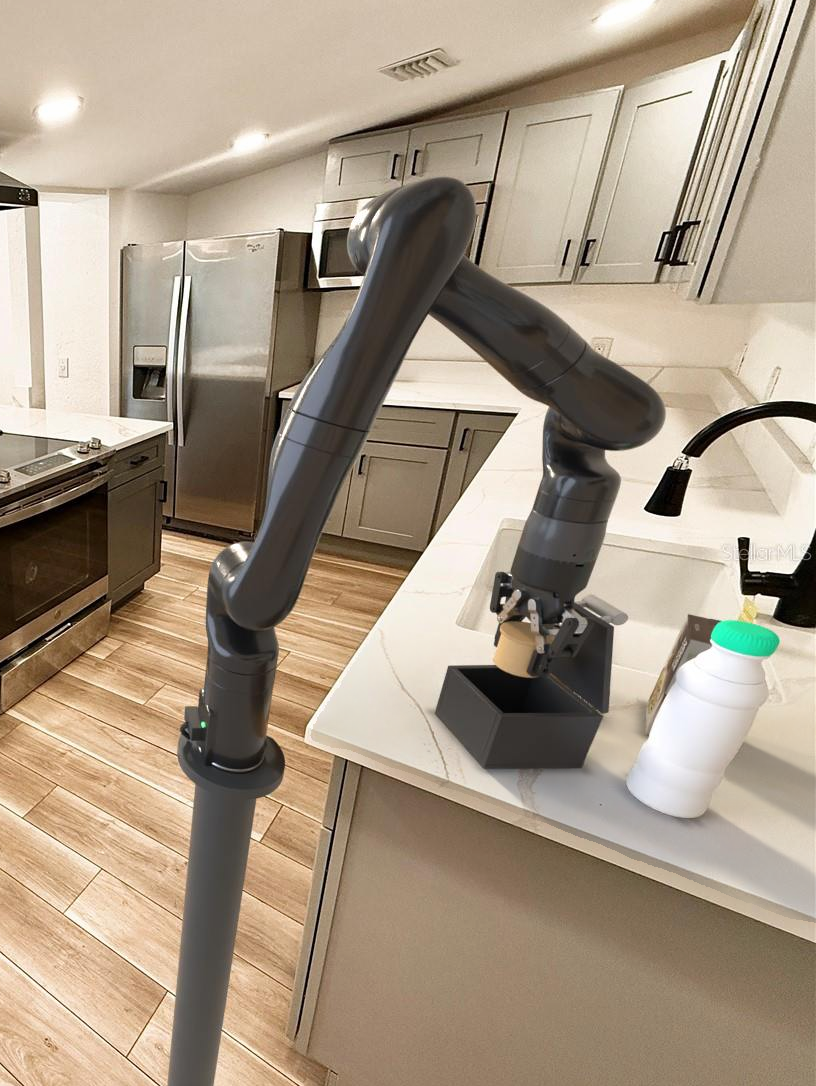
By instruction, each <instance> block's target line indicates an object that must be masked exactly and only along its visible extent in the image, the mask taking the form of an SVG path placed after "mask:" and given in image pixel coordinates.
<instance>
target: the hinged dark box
mask: <svg viewBox="0 0 816 1086" xmlns="http://www.w3.org/2000/svg"><path fill="white" fill-rule="evenodd" d="M434 715H435V716H436V717H437V718H438V719H439V720H440V721H441V722H442V723H443V725H445V727H446V728H447V729H448V731H450V733H451V734H452V735H453V736H454V737H455V738H456V740H458V741H459V743H460V744H461V745H462V746H463V747H464V748H465V749H466V750H467V752H468V753H469V754H470V755H471V756H472V757H473V759H475V761H476V762H477V763H478V764H479V766H480V767H482V769H484V770H487V769H490V770H491V769H495V770H497V769H498V770H499V769H502V770H504V769H506V770H507V769H508V770H509V769H514V770H515V769H516V770H517V769H519V770H521V769H582V768H583V765H584V763H585V760H586V758H587V756H588V754H589V751H590V749H591V747H592V745H593V742H594V740H595V737H596V735H597V733H598V730H599V728H600V726H601V723H602V721H603V719H604V715H603V714H601V713H600V712H599V711H598V710H596V709H595V708H594V707H592V706H591V705H590V704H589V703H587V702H586V701H585V700H584V699H582V698H581V697H580V696H579V695H577V694H576V693H575V692H572V691H571V690H570V689H568V688H567V687H566V686H565V685H563V684H562V683H561V682H560V681H558V680H557V679H556V678H555V677H553V676H552V675H551V674H549V675H547V676H544V677H535V678H527V677H521V676H516V675H513V674H510V673H508V672H505V671H503V670H502V669H500V668H499V667H497V666H496V665H495V664H468V665H467V664H465V665H464V664H463V665H462V664H461V665H460V664H459V665H458V664H457V665H455V664H453V665H447V668H446V671H445V675H444V678H443V682H442V685H441V689H440V693H439V695H438V700H437V703H436V707H435V710H434Z"/></svg>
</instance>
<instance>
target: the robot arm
mask: <svg viewBox="0 0 816 1086" xmlns="http://www.w3.org/2000/svg"><path fill="white" fill-rule="evenodd" d="M476 223H477V204H476V200H475V196H474V193H473V192H472V191H471V188H470V187H469V186H468V185H467V184H466V183H465V182H463V181H462V180H461V179H458V178H455V177H452V176H435V177H428V178H424V179H419V180H417V181H413V182H410V183H407V184H404V185H401V186H398V187H395V188H392V189H389V190H387V191H385V192H383V193H381V194H378V195H377V196H375V197H374V198H372V199H370V200H369V201H368V202H367V203H366V204H365V205H363V206H362V207H361V209H359V210H358V211H357V213H356V214H355V216H354V218H353V220H352V221H351V223H350V226H349V228H348V229H349V230H348V233H347V236H346V237H347V239H346V249H347V255H348V258H349V260H350V262H351V264H352V266H353V267H354V269H355V270H356V271H357V272H358V273H360V274H361V275H362V276H363V278H362V281H361V284H360V286H359V289H358V291H357V294H356V296H355V299H354V302H353V304H352V307H351V309H350V311H349V313H348V315H347V317H346V319H345V321H344V323H343V325H342V326H341V327H340V329H339V331H338V332H337V334H336V336H335V337H334V338H333V339H332V341H331V343H330V344H329V345H328V346H327V347H326V349H325V350H324V352H323V353H322V354H321V355H320V356H319V358H318V359H317V361H316V362H314V364H313V366H312V367H311V368H310V370H309V371H308V373H307V374H306V375H305V376H304V377H303V379H302V381H301V382H300V384H299V385H298V387H297V389H296V391H295V392H294V394H293V396H292V397H291V400H290V402H289V404H288V408H287V409H286V412H285V414H284V417H283V419H282V422H281V423H280V426H279V428H278V431H277V432H276V433H277V434H276V435H275V439H274V441H273V445H272V448H271V452H270V458H269V464H268V472H267V473H268V475H267V485H266V498H265V504H264V505H265V506H264V513H263V516H262V521H261V523H260V527H259V530H258V532H257V535H256V537H255V539H254V541H239V542H234V543H232V544H230V545H228V546H226V547H224V549H222V550H221V551H219V553H218V554H217V555H216V557H215V558H214V560H213V561H212V563H211V566H210V568H209V573H208V577H207V585H206V586H207V588H206V603H205V605H206V606H205V631H206V632H205V633H206V637H207V651H206V652H207V653H206V662H205V663H206V665H205V674H204V685H203V688H200V689H199V692H198V705H190V706H189V705H187V706H185V707H184V715H183V716H184V717H183V719H184V723H182V724H181V725H180V727H179V731H180V734H182V735H183V736H184V737H186V738H187V739H188V740H190V739H191V741H196V742H197V745H198V750H199V753H200V755H201V758H202V761H203V764H204V765H205V766H213V767H215V768H217V769H219V770H221V771H224V772H228V773H235V774H243V773H249V772H252V771H254V770H256V769H258V768H259V767H260V766H261V764H262V763H263V759H264V750H265V747H266V749H267V742H266V735H267V734H268V726H269V720H270V714H271V706H272V700H273V693H274V686H275V680H276V674H277V673H276V672H277V666H278V660H279V653H280V644H279V639H278V635H277V633H276V628H275V627H277V626H278V625H280V624H281V623H282V622H283V621H284V620H286V619H287V618H288V617H289V615H291V613H292V611H293V610H294V609H295V607H296V604H297V603H298V601H299V598H300V596H301V593H302V590H303V587H304V584H305V581H306V578H307V575H308V573H309V570H310V567H311V564H312V561H313V558H314V555H315V552H316V549H317V547H318V544H319V541H320V539H321V537H322V534H323V532H324V530H325V527H326V525H327V523H328V521H329V520H330V517H331V515H332V514H333V511H334V509H335V507H336V504H337V502H338V500H339V498H340V495H341V493H342V491H343V489H344V486H345V484H346V482H347V481H348V479H349V476H350V474H351V473H352V470H353V469H354V467H355V465H356V463H357V461H358V460H359V457H360V455H361V453H362V451H363V449H364V447H365V445H366V442H367V441H368V438H369V436H370V434H371V432H372V430H373V427H374V426H375V423H376V421H377V418H378V417H379V416H378V415H379V413H380V411H381V410H382V407H383V405H384V404H385V400H386V399H387V397H388V394H389V392H390V391H391V388H392V386H393V385H394V382H395V381H396V378H397V376H398V374H399V372H400V370H401V367H402V365H403V363H404V361H405V359H406V356H407V354H408V352H409V350H410V348H411V346H412V344H413V342H414V340H415V338H416V337H417V335H418V333H419V331H420V329H421V327H422V326H423V324H424V322H425V320H426V319H427V317H428V315H429V316H430V317H431V318H433V319H434V320H435V321H436V322H438V323H440V324H441V325H442V326H443V327H444V328H445V329H447V330H448V331H450V332H451V333H452V334H453V335H454V336H456V337H457V338H458V339H460V341H462V342H463V343H464V344H465V345H466V346H468V347H469V348H470V349H471V350H472V351H474V353H476V354H477V355H478V356H479V357H480V358H481V359H482V360H483V361H485V362H486V363H487V364H488V365H489V366H491V367H492V368H493V369H494V370H495V371H496V372H497V374H499V375H500V376H501V377H502V378H504V379H505V380H506V381H507V382H508V383H509V384H510V385H511V386H513V387H514V388H515V389H516V390H517V391H518V392H520V393H521V394H523V395H524V396H526V397H527V398H528V399H530V400H533V401H535V402H537V403H541V404H543V405H546V406H547V407H548V408H547V410H546V413H545V416H544V421H543V425H542V450H541V451H542V453H541V454H542V455H541V463H542V477H541V480H540V483H539V485H538V488H537V492H536V495H535V499H534V502H533V505H532V508H531V510H530V512H529V515H528V517H527V519H526V521H525V523H524V526H523V528H522V531H521V534H520V537H519V538H520V539H519V541H518V544H517V547H516V551H515V554H514V557H513V560H512V564H511V567H510V571H497V572H495V575H494V581H493V586H492V591H491V597H490V604H489V611H490V612H491V613H493V614H496V615H497V617H496V621H497V622H498V625H497V628H496V631H495V635H494V641H493V646H494V647H495V648H497V645H498V642H499V639H500V636H501V632H500V627H501V625H502V624H503V623H505V622H508V621H521V622H523V620H525V618H527V620H529V622H530V623H531V632H532V634H534V635H535V639H536V650H534V651H533V654H532V657H531V660H530V663H529V665H528V668H527V673H528V674H529V675H530V676H532V677H544V676H547V675H549V674H550V673H551V670H552V668H553V665H554V662H555V660H556V657H575V656H576V654H577V653H578V651H579V649H580V647H581V646H582V644H583V642H584V641H585V639H586V637H587V636H588V634H589V632H590V631H591V629H592V627H593V625H594V621H593V619H592V618H590V617H581V616H580V615H579V614H578V613H577V612H576V611H574V609H575V604H574V602H575V599H576V596H577V595H578V594H579V593H581V592H583V591H584V590H585V589H587V586H588V584H589V582H590V579H591V576H592V573H593V571H594V567H595V565H596V562H597V560H598V557H599V554H600V552H601V549H602V546H603V544H604V541H605V538H606V533H607V527H608V523H609V519H610V517H611V514H612V511H613V509H614V506H615V504H616V500H617V498H618V496H619V495H618V494H619V491H620V489H621V483H622V477H621V475H620V473H619V472H618V471H617V470H616V469H615V468H614V467H612V465H610V464H609V462H608V460H607V459H606V451H609V452H625V451H631V450H634V449H637V448H640V447H642V446H644V445H646V444H647V443H649V442H651V441H652V440H654V438H655V437H657V436H658V434H659V433H660V432H661V431H662V429H663V428H664V424H665V423H666V417H667V411H666V410H667V409H666V405H665V402H664V400H663V398H662V397H661V395H660V394H659V393H658V392H657V390H656V389H655V388H653V386H652V385H650V384H649V383H647V382H646V381H645V380H644V379H642V378H640V377H639V376H637V375H635V374H634V373H632V372H631V371H630V370H628V369H626V368H624V367H623V366H622V365H620V364H618V363H616V362H614V361H613V360H611V359H609V358H607V357H606V356H604V355H602V354H600V352H598V351H596V350H595V349H594V348H593V347H592V346H591V345H590V344H589V342H587V341H586V340H585V339H584V338H583V337H582V336H581V335H580V334H579V333H578V332H577V331H576V330H575V329H574V328H573V327H572V326H570V325H569V324H568V322H566V320H564V319H563V318H561V317H560V316H559V315H558V314H557V313H555V312H554V311H553V310H552V309H550V308H549V307H547V306H546V305H544V304H542V303H541V302H540V301H538V300H536V299H535V298H533V297H532V296H529V295H528V294H526V293H524V292H522V291H520V290H518V289H516V288H515V287H513V286H512V285H509V284H508V283H505V282H503V281H501V280H500V279H498V278H496V277H495V276H494V275H492V274H490V273H488V272H487V271H485V269H483V268H482V267H480V266H479V265H478V264H476V263H475V262H473V261H472V260H471V259H470V258H469V257H467V256H466V255H465V254H466V251H467V249H468V247H469V246H470V243H471V240H472V237H473V235H474V231H475V228H476ZM503 598H505V600H504V603H501V602H502V599H503ZM554 623H555V625H554V627H553V628H543V626H542V624H554ZM548 635H551V637H552V644H547V636H548ZM565 645H567V646H566V647H565ZM186 728H187V729H188V732H189V733H187V732H186V731H185V729H186Z"/></svg>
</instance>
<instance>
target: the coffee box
mask: <svg viewBox="0 0 816 1086" xmlns="http://www.w3.org/2000/svg"><path fill="white" fill-rule="evenodd" d="M721 621H722V620H719V619H715V618H708V617H704V616H699V615H695V614H694V615H693V614H690V613H688V614H687V615H686V617H685V619H684V622H683V624H682V626H681V627H680V630H679V632H678V634H677V635H676V639H675V641H674V643H673V645H672V648H671V650H670V652H669V654H668V656H667V659H666V660H665V663H664V665H663V667H662V670H661V671H660V674H659V676H658V678H657V680H656V683H655V686H654V687H653V689H652V692H651V694H650V696H649V698H648V700H647V703H646V705H645V731H644V733H645V735H647V736H649V734H650V731H651V728H652V726H653V723H654V721H655V718H656V716H657V714H658V712H659V709H660V707H661V705H662V703H663V701H664V699H665V697H666V696H667V694H668V692H669V690H670V689H671V687H672V686H673V684H674V683H675V681H676V673H677V671H678V669H679V668H680V667H681V666H682V665H683V664H685V663H686V662H688V661H690V660H691V659H693V658H696V656H697V655H699V654H700V653H702V652H704V651H707V650H709V649H710V648H711V647H712V644H711V642H710V639H711V634H712V631H713V629H714V628H715V626H716V625H717V624H718V623H719V622H721Z"/></svg>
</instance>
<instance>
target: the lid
mask: <svg viewBox="0 0 816 1086" xmlns="http://www.w3.org/2000/svg"><path fill="white" fill-rule="evenodd" d="M574 604H575V609H574V611H576V612H577V613H578V614H579V615H580V616H581V617H590V618H592V619H593V621H594V625H593V627H592V629H591V631H590V632H589V634H588V636H587V637H586V639H585V641H584V642H583V644H582V646H581V647H580V649H579V651H578V653H577V654H576V656H575V657H556V660H555V662H554V665H553V668H552V670H551V674H552V675H553V676H554V677H556V678H557V679H558V680H559V681H561V682H562V683H563V684H565V685H566V686H567V687H568V688H570V689H571V690H572V691H573V692H574V693H575V694H576V695H577V696H579V697H580V698H581V699H582V700H584V701H585V702H586V703H588V704H589V705H590V706H591V707H593V708H594V709H595V710H596V711H598V713H600V714H601V715H603V714H608V713H609V712H610V711H609V710H610V699H611V698H610V697H611V681H612V666H613V651H614V650H613V649H614V636H615V635H614V634H615V633H614V632H615V626H621V625H624V624H626V622H628V621H629V615H628V614H627V613H626V612H624V611H622V610H621V609H620V608H617V607H616V606H614V605H612V604H610V603H609V602H607V601H605V600H603V599H602V598H600V597H598V596H597V595H595V594H591V593H590V594H587V595H585V596H583V597H582V598H581V600H578V601H574ZM592 612H593V613H592ZM554 625H555V623H554V624H542V626H543V627H544V628H553V627H554ZM566 646H567V645H565V647H566Z"/></svg>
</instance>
